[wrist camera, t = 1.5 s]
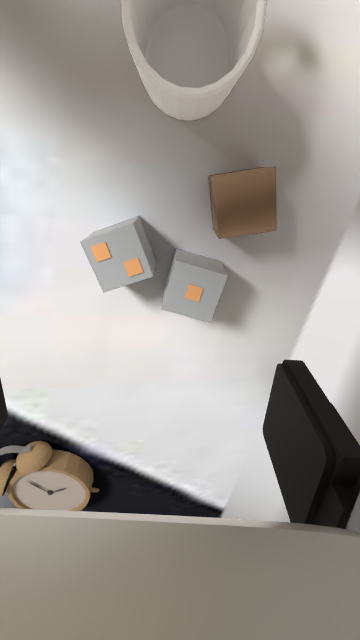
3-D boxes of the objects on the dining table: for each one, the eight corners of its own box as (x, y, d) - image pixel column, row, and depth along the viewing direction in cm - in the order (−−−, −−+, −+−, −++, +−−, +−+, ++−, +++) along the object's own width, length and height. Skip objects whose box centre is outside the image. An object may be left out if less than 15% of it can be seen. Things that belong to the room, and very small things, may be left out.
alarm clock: (57, 527, 48) (-39, 494, 41) (63, 494, 52) (-23, 459, 45) (108, 495, 45) (14, 453, 38) (110, 463, 49) (26, 420, 42)
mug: (292, 5, 25) (356, -87, 16) (194, 141, 29) (201, 128, 20) (216, -89, 23) (240, -256, 14) (121, 72, 27) (92, 23, 18)
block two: (93, 231, 32) (79, 242, 28) (139, 215, 32) (132, 223, 27) (113, 276, 34) (103, 293, 30) (156, 262, 34) (153, 276, 29)
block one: (176, 248, 33) (175, 260, 28) (221, 261, 34) (228, 276, 29) (163, 291, 35) (161, 309, 30) (206, 303, 36) (210, 323, 31)
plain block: (208, 175, 30) (213, 176, 26) (260, 167, 30) (275, 166, 25) (213, 229, 32) (219, 238, 28) (262, 221, 32) (276, 230, 27)
